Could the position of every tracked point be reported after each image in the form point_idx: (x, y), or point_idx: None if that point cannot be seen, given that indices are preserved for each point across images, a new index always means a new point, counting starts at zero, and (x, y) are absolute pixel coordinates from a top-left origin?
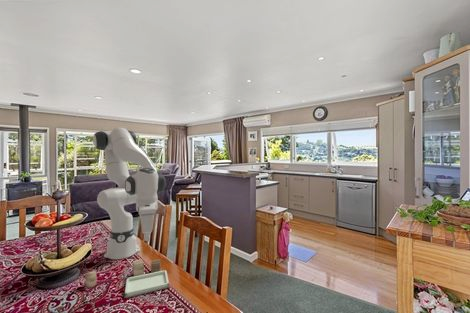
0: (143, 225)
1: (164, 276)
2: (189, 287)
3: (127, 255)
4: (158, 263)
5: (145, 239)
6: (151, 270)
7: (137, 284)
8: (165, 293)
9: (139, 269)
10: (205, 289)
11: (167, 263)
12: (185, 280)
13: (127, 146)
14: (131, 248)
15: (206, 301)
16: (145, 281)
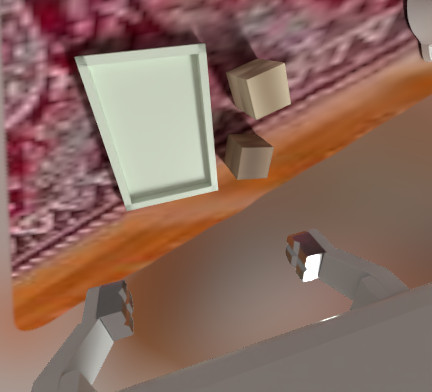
0: None
1: (190, 184)
2: (117, 253)
3: (415, 6)
4: (237, 174)
5: (86, 303)
6: (232, 140)
7: (160, 96)
8: (94, 198)
9: (240, 96)
10: None
11: (278, 177)
12: (157, 239)
13: None
14: None
15: (44, 296)
16: (175, 124)
